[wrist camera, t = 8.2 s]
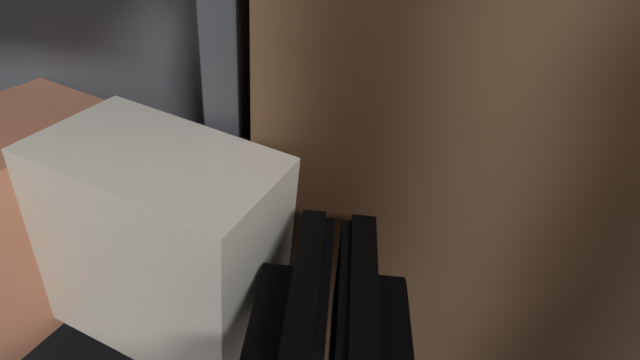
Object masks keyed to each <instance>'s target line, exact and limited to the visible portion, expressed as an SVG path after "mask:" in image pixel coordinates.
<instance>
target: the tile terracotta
mask: <svg viewBox="0 0 640 360" xmlns="http://www.w3.org/2000/svg"><path fill="white" fill-rule="evenodd" d="M102 101H105V100H104V99H101V98H98V97H95V96H92V95H89V94H86V93H84V92H81V91H78V90H75V89H72V88H69V87H66V86H63V85H61V84H58V83H55V82H52V81H49V80H46V79H43V78H38V79H35V80H32V81H29V82H27V83H24V84H21V85H18V86H15V87H12V88H9V89H7V90H4V91H1V92H0V360H21V359H22V358H24V357H25V356H26V355H27V354H28V353H29V352H31V351H32V350H33V349H34V348H35V347H36V346H38V345H39V344H40V343H41V342H42V341H43V340H45V339H46V338H47V337H48V336H49V335H50V334H52V333H53V332H54V331H55V330H56V329H58V328H59V327H60V326H61V325H62V324H63V323H64V322H62V321H60V320H58V319H56V318H54V316H53V312H52V309H51V306H50V303H49V300H48V297H47V293H46V290H45V287H44V284H43V281H42V278H41V274H40V271H39V268H38V265H37V262H36V258H35V255H34V252H33V249H32V246H31V243H30V239H29V236H28V233H27V230H26V227H25V224H24V220H23V217H22V214H21V211H20V208H19V204H18V201H17V198H16V195H15V192H14V189H13V185H12V182H11V179H10V176H9V173H8V170H7V166H6V163H5V160H4V157H3V154H2V151H1V149H2V148H5V147H7V146H9V145H11V144H13V143H15V142H17V141H20V140H22V139H24V138H26V137H28V136H30V135H32V134H34V133H37V132H39V131H41V130H43V129H45V128H47V127H49V126H51V125H54V124H56V123H58V122H60V121H62V120H64V119H66V118H68V117H71V116H73V115H75V114H77V113H79V112H81V111H83V110H85V109H88V108H90V107H92V106H94V105H96V104H98V103H100V102H102Z"/></svg>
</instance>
